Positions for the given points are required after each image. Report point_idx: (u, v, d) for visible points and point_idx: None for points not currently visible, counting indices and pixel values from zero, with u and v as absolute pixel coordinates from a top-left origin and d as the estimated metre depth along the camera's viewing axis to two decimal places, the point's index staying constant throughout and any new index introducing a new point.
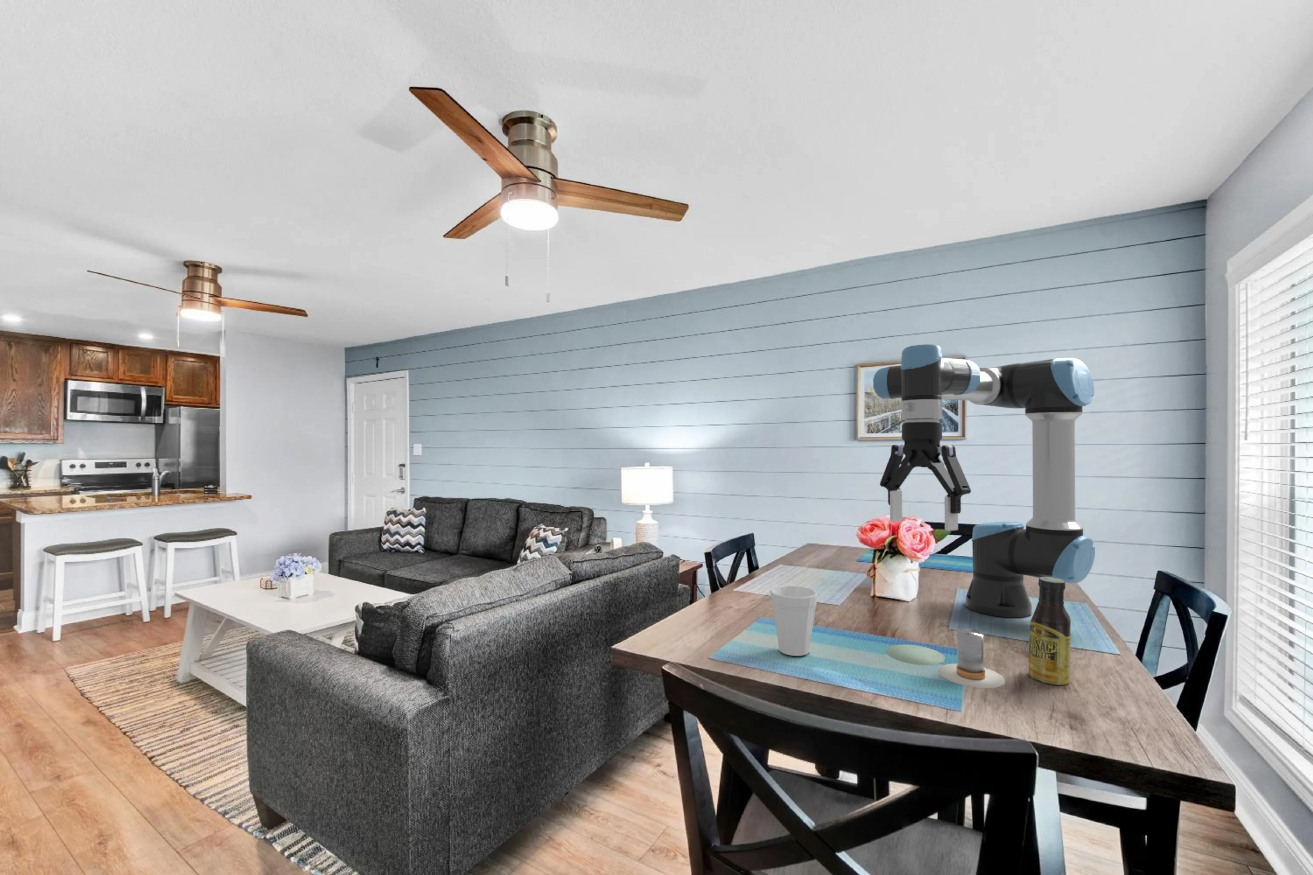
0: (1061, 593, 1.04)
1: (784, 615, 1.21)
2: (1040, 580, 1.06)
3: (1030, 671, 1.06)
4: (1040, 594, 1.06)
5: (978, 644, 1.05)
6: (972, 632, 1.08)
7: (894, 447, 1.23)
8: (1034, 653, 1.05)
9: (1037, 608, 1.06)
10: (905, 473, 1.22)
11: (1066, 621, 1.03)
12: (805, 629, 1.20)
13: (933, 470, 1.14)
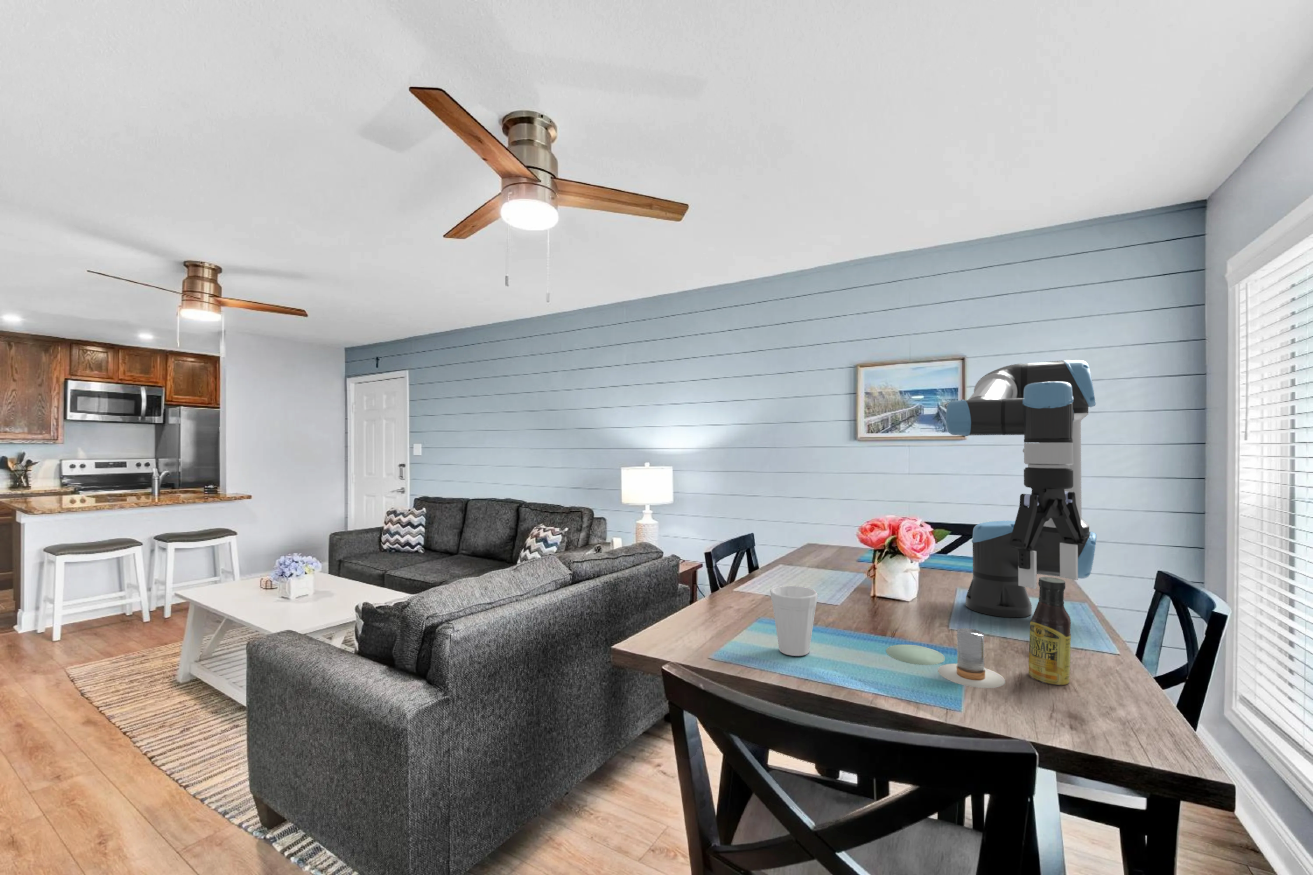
0: (1061, 593, 1.04)
1: (784, 615, 1.21)
2: (1040, 580, 1.06)
3: (1030, 671, 1.06)
4: (1040, 594, 1.06)
5: (978, 644, 1.05)
6: (972, 632, 1.08)
7: None
8: (1034, 653, 1.05)
9: (1037, 608, 1.06)
10: (1062, 525, 1.08)
11: (1066, 621, 1.03)
12: (805, 629, 1.20)
13: None
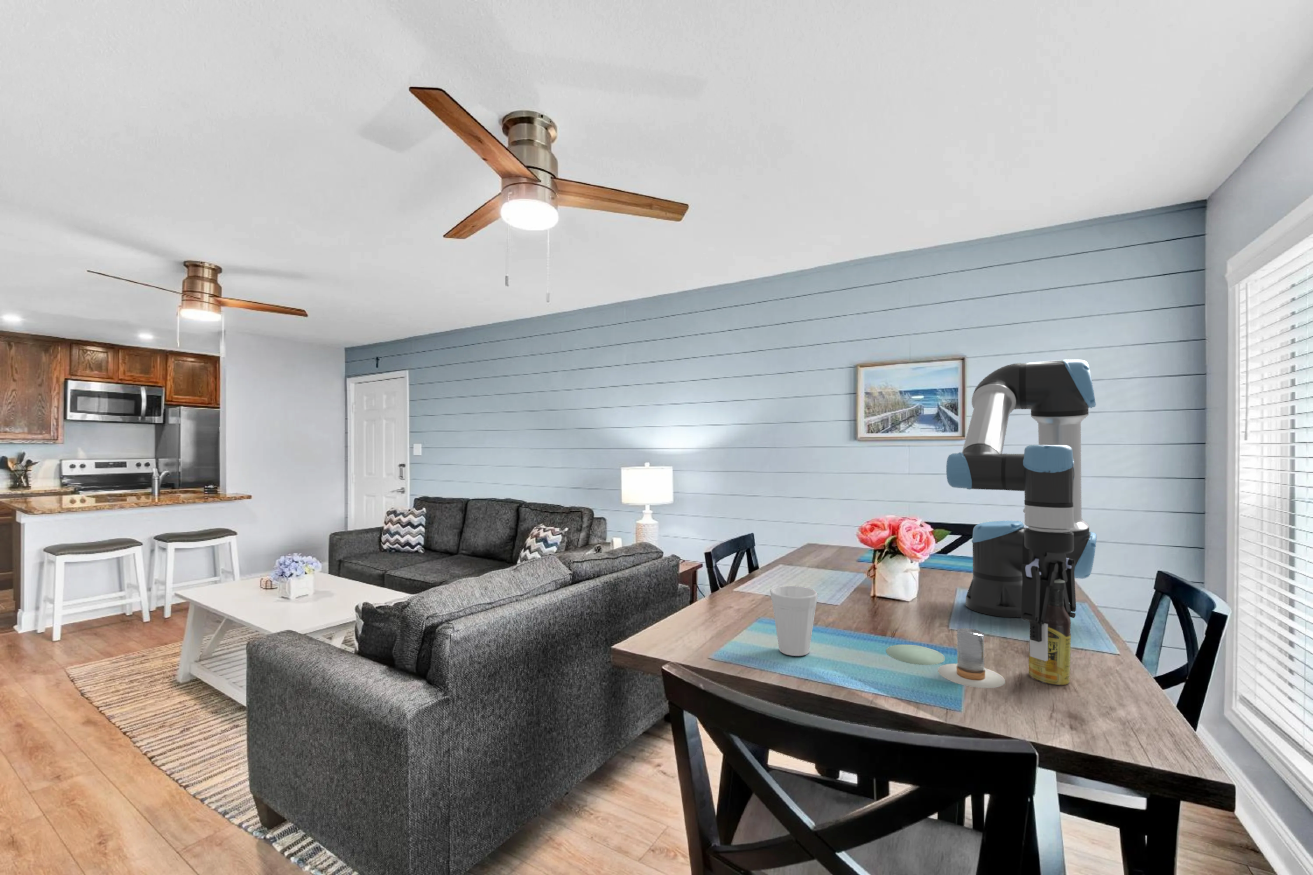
0: (1061, 593, 1.04)
1: (784, 615, 1.21)
2: None
3: (1030, 671, 1.06)
4: None
5: (978, 644, 1.05)
6: (972, 632, 1.08)
7: None
8: None
9: None
10: None
11: (1066, 621, 1.03)
12: (805, 629, 1.20)
13: None
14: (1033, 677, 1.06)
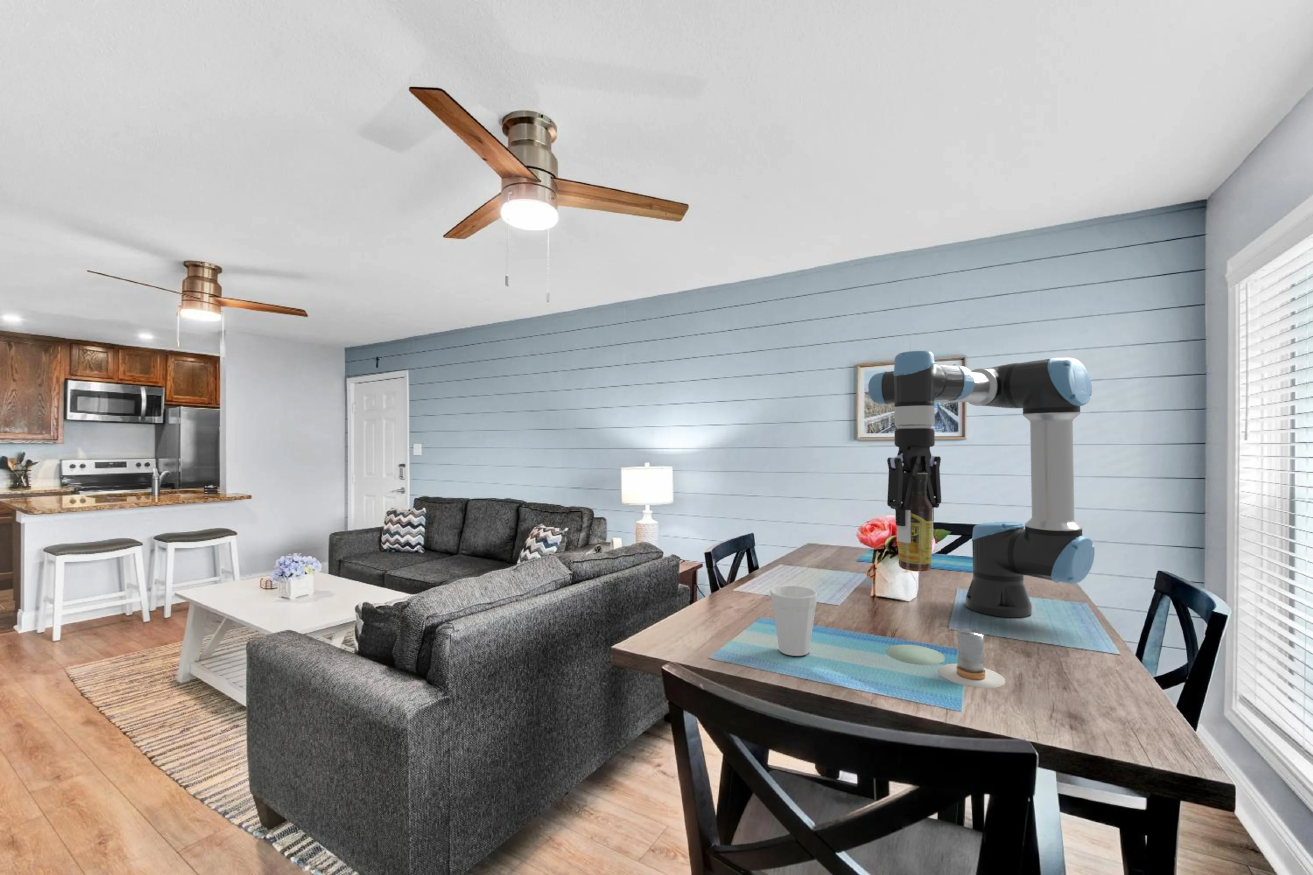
0: (923, 483, 1.16)
1: (784, 615, 1.21)
2: None
3: (899, 556, 1.19)
4: None
5: (978, 644, 1.05)
6: (972, 632, 1.08)
7: None
8: None
9: None
10: None
11: (926, 507, 1.15)
12: (805, 629, 1.20)
13: None
14: (900, 560, 1.18)
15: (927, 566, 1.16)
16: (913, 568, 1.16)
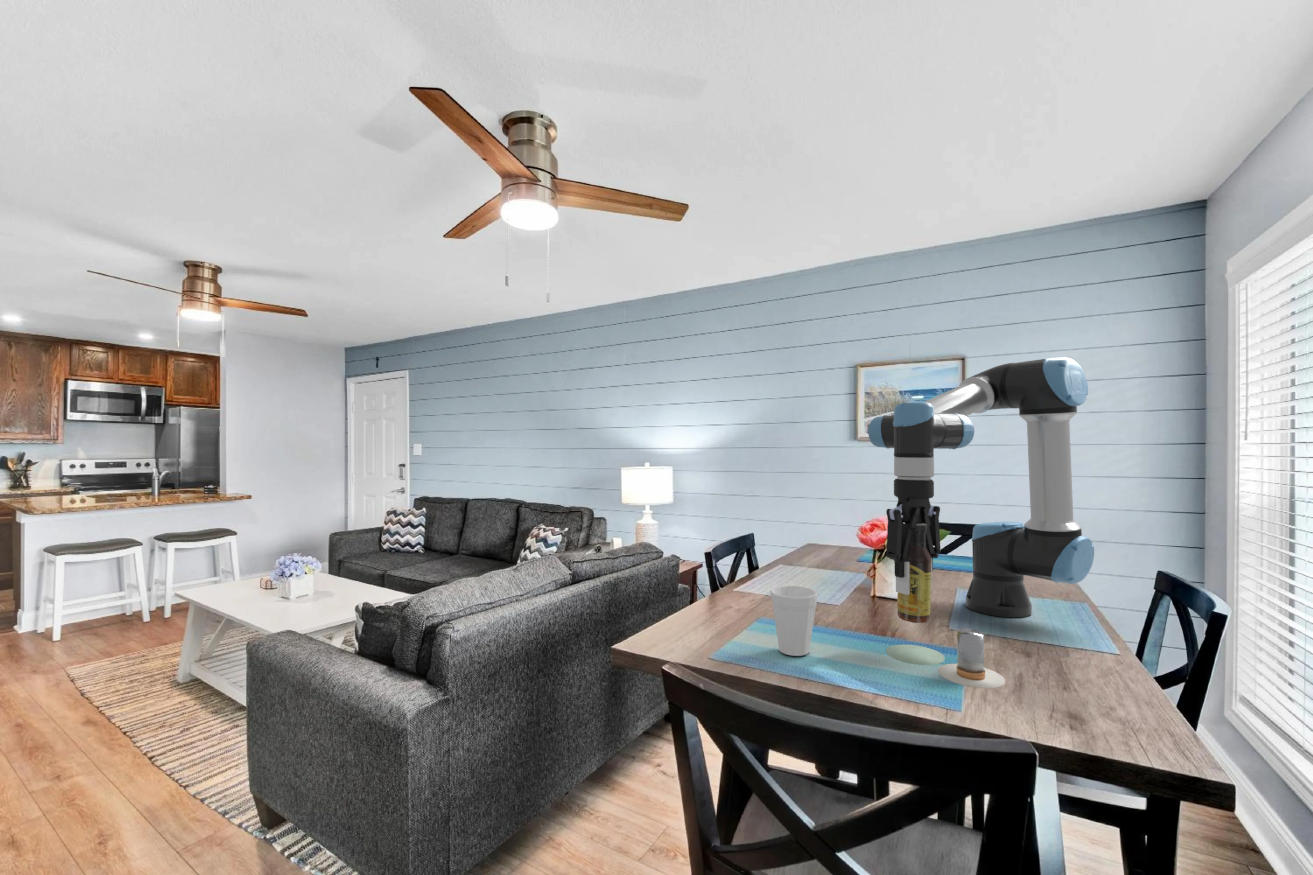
0: (922, 535, 1.16)
1: (784, 615, 1.21)
2: None
3: (897, 606, 1.19)
4: None
5: (978, 644, 1.05)
6: (972, 632, 1.08)
7: None
8: None
9: None
10: None
11: (925, 559, 1.15)
12: (805, 629, 1.20)
13: None
14: (899, 611, 1.18)
15: (926, 618, 1.16)
16: (912, 619, 1.16)
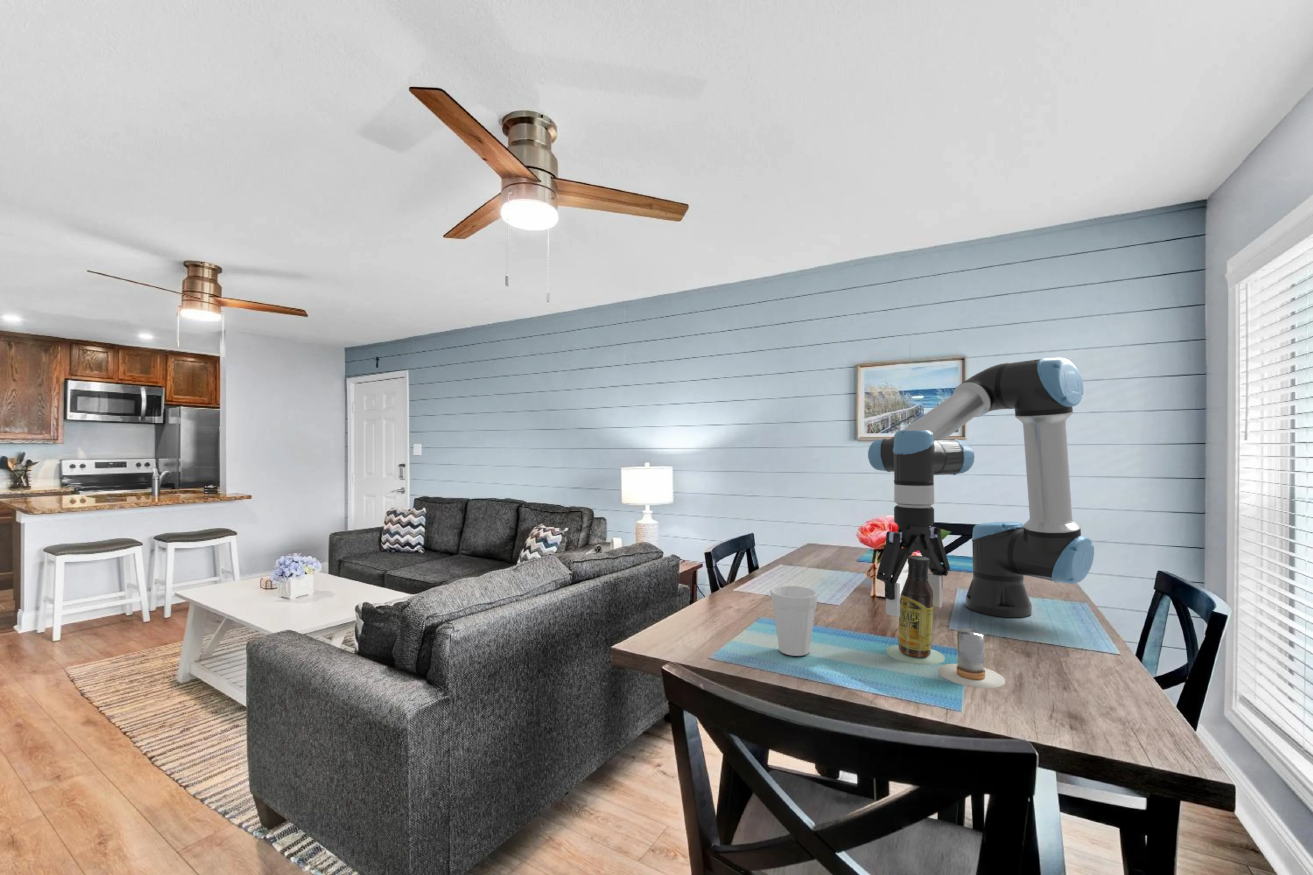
0: (925, 569, 1.16)
1: (784, 615, 1.21)
2: (908, 558, 1.18)
3: (898, 639, 1.19)
4: (908, 570, 1.18)
5: (978, 644, 1.05)
6: (972, 632, 1.08)
7: None
8: (901, 623, 1.18)
9: (905, 583, 1.18)
10: (928, 557, 1.20)
11: (927, 594, 1.15)
12: (805, 629, 1.20)
13: None
14: (900, 644, 1.18)
15: (927, 653, 1.16)
16: (913, 654, 1.16)
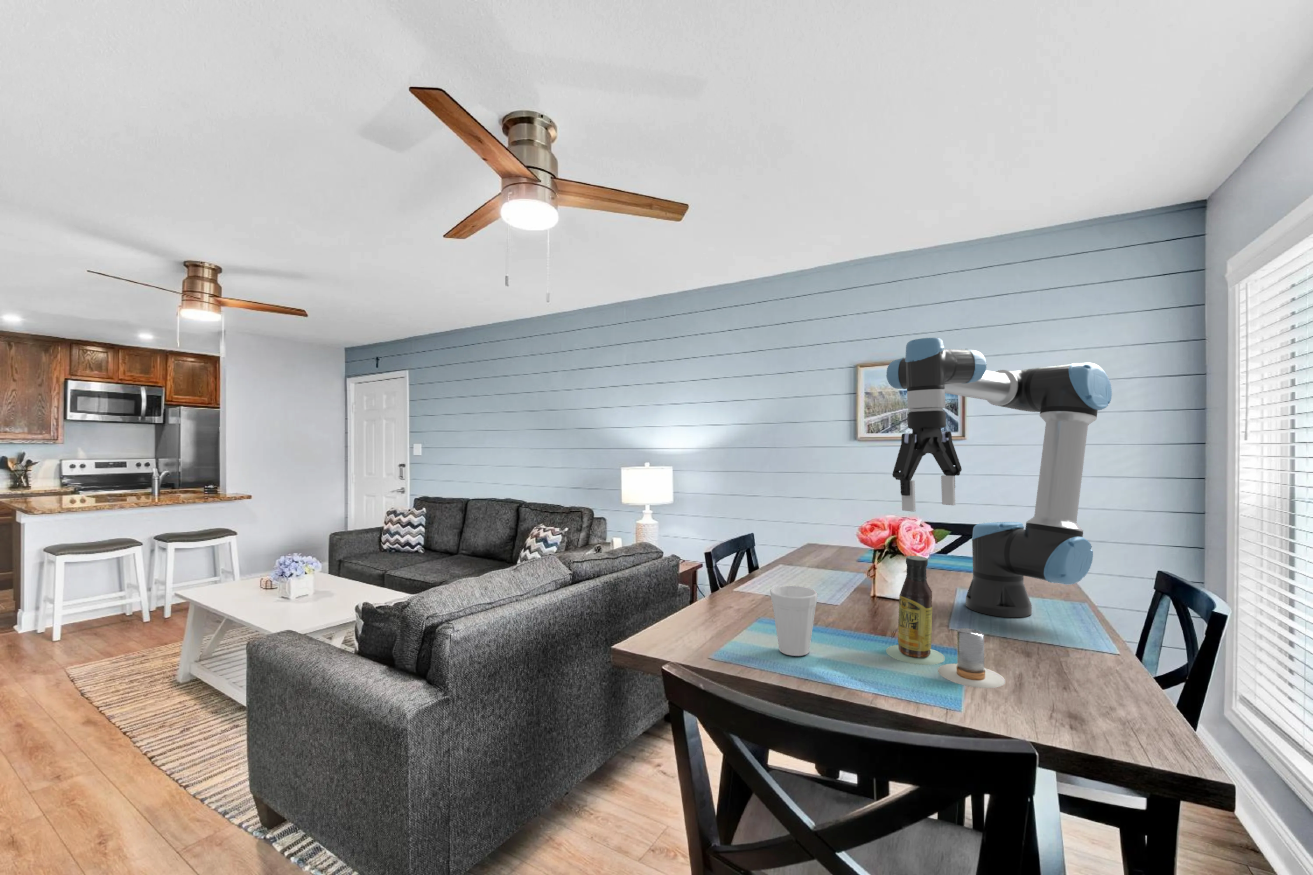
0: (923, 570, 1.16)
1: (784, 615, 1.21)
2: (906, 558, 1.18)
3: (898, 640, 1.19)
4: (907, 571, 1.18)
5: (978, 644, 1.05)
6: (972, 632, 1.08)
7: None
8: (901, 623, 1.18)
9: (904, 583, 1.18)
10: (941, 459, 1.27)
11: (926, 594, 1.15)
12: (805, 629, 1.20)
13: None
14: (900, 645, 1.18)
15: (926, 653, 1.16)
16: (913, 654, 1.16)
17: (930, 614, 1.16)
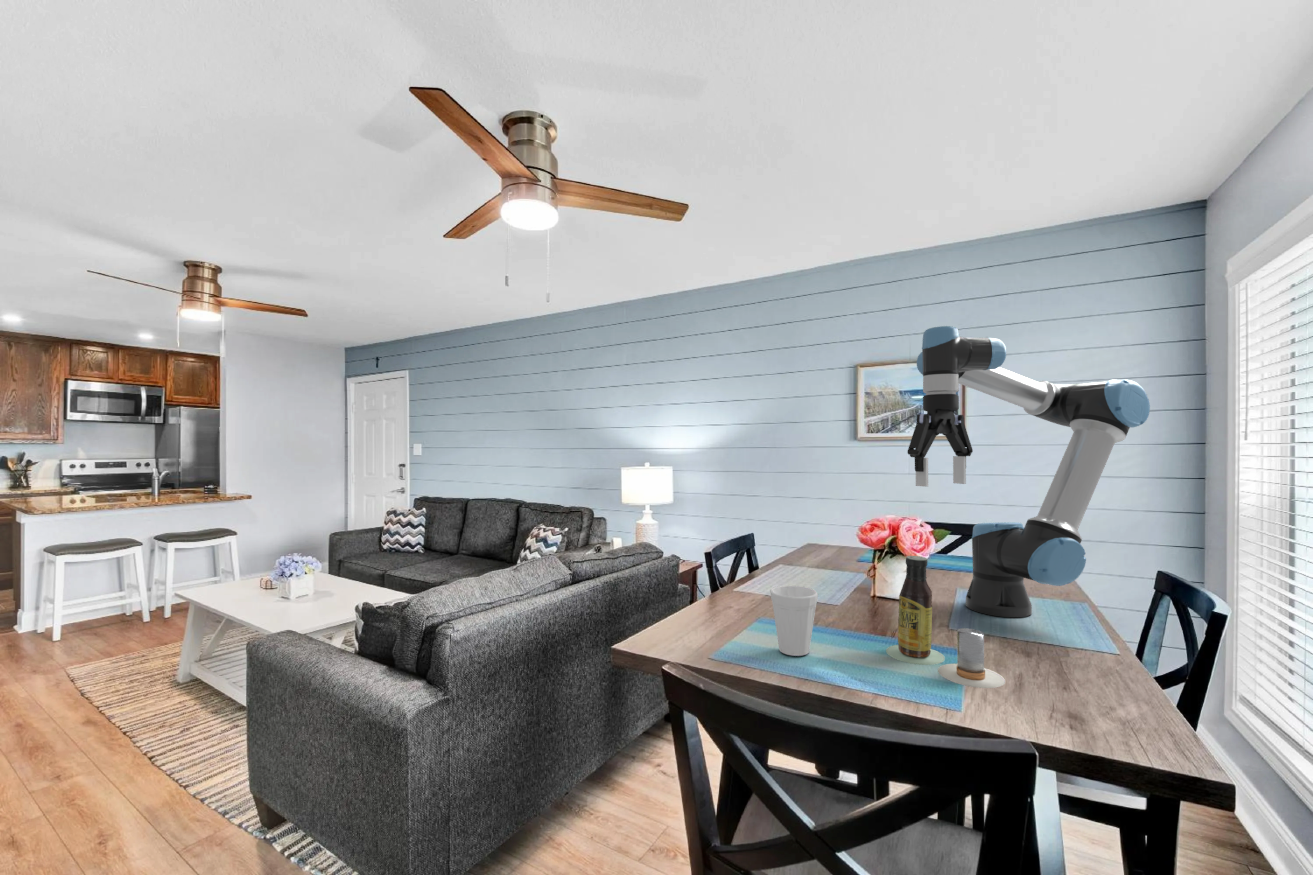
0: (923, 570, 1.16)
1: (784, 615, 1.21)
2: (906, 558, 1.18)
3: (898, 640, 1.19)
4: (906, 571, 1.18)
5: (978, 644, 1.05)
6: (972, 632, 1.08)
7: None
8: (900, 623, 1.18)
9: (904, 583, 1.18)
10: (953, 440, 1.37)
11: (926, 594, 1.15)
12: (805, 629, 1.20)
13: None
14: (900, 645, 1.18)
15: (926, 653, 1.16)
16: (913, 654, 1.16)
17: (930, 614, 1.16)
